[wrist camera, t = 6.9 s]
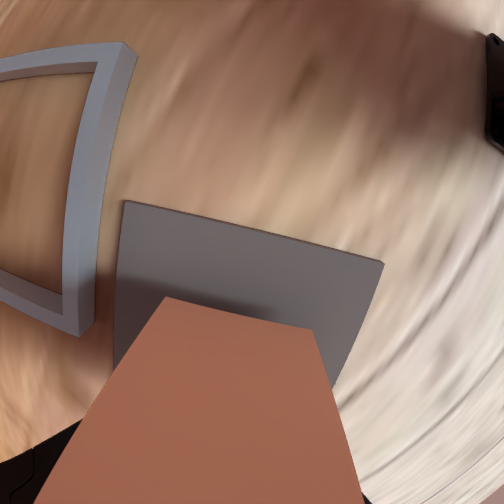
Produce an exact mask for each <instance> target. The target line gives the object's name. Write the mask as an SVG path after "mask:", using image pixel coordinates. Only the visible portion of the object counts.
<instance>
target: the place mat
mask: <svg viewBox="0 0 504 504" xmlns="http://www.w3.org/2000/svg"><path fill="white" fill-rule="evenodd" d="M384 265H385V264H384V263H383V262H382V261H379V260H375V259H372V258H368V257H364V256H360V255H357V254H353V253H349V252H345V251H341V250H337V249H334V248H330V247H326V246H322V245H318V244H314V243H310V242H306V241H302V240H298V239H294V238H290V237H286V236H282V235H278V234H274V233H270V232H266V231H262V230H258V229H254V228H249V227H245V226H241V225H237V224H233V223H228V222H224V221H220V220H216V219H211V218H207V217H203V216H198V215H194V214H190V213H185V212H181V211H176V210H172V209H167V208H163V207H158V206H154V205H149V204H145V203H140V202H135V201H131V200H128V201H125V206H124V212H123V219H122V226H121V234H120V243H119V252H118V262H117V273H116V286H115V303H114V336H113V357H114V370H115V369H116V367H117V366H118V364H119V363H120V361H121V360H122V358H123V357H124V355H125V354H126V352H127V351H128V350H129V348H130V347H131V345H132V344H133V342H134V341H135V339H136V338H137V336H138V335H139V334H140V332H141V331H142V329H143V328H144V326H145V325H146V324H147V322H148V321H149V319H150V318H151V316H152V315H153V314H154V312H155V311H156V309H157V308H158V307H159V305H160V304H161V302H162V301H163V300H164V298H165V297H170V298H173V299H177V300H181V301H185V302H189V303H193V304H197V305H201V306H205V307H209V308H213V309H217V310H221V311H225V312H229V313H234V314H238V315H242V316H247V317H251V318H256V319H261V320H265V321H270V322H275V323H280V324H285V325H290V326H295V327H300V328H305V329H310V330H312V331H313V334H314V337H315V340H316V343H317V346H318V349H319V352H320V355H321V358H322V361H323V364H324V367H325V370H326V374H327V377H328V380H329V383H330V386H331V389H332V388H333V386H334V384H335V382H336V380H337V378H338V376H339V374H340V372H341V370H342V368H343V366H344V364H345V362H346V360H347V357H348V355H349V353H350V351H351V349H352V346H353V344H354V342H355V340H356V337H357V335H358V333H359V330H360V328H361V326H362V323H363V321H364V318H365V316H366V313H367V311H368V308H369V306H370V303H371V301H372V298H373V295H374V293H375V290H376V287H377V285H378V282H379V279H380V276H381V273H382V271H383V268H384Z"/></svg>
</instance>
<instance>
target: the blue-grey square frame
mask: <svg viewBox="0 0 504 504" xmlns="http://www.w3.org/2000/svg"><path fill="white" fill-rule="evenodd" d="M137 58H138V55H137V54H136V53H135V52H134V51H133V50H132V49H131V48H130V47H129V46H128V45H126V44H125V43H124V42H106V43H91V44H80V45H71V46H63V47H55V48H49V49H43V50H37V51H32V52H27V53H22V54H18V55H14V56H9V57H5V58H2V59H0V81H4V80H10V79H17V78H24V77H32V76H41V75H52V74H65V73H89V72H95V73H94V76H93V79H92V82H91V85H90V89H89V92H88V95H87V99H86V103H85V106H84V110H83V114H82V118H81V122H80V126H79V130H78V135H77V140H76V144H75V149H74V155H73V160H72V166H71V172H70V178H69V185H68V193H67V201H66V210H65V221H64V235H63V256H62V295H60V294H57V293H55V292H52V291H50V290H47V289H45V288H42V287H40V286H38V285H35V284H33V283H31V282H28V281H26V280H24V279H21V278H19V277H17V276H15V275H12V274H10V273H8V272H6V271H4V270H2V269H0V301H2V302H3V303H5V304H7V305H9V306H11V307H13V308H15V309H17V310H19V311H21V312H23V313H25V314H27V315H29V316H31V317H33V318H35V319H37V320H39V321H41V322H43V323H45V324H48V325H50V326H52V327H54V328H57V329H59V330H61V331H63V332H66V333H68V334H70V335H73V336H75V337H78V338H80V337H81V336H82V335H83V334H84V333H85V332H86V331H87V330H88V328H89V327H90V326H91V325H92V324H93V323H94V322H95V276H96V259H97V246H98V236H99V226H100V218H101V210H102V203H103V196H104V189H105V183H106V177H107V172H108V166H109V161H110V156H111V151H112V147H113V142H114V138H115V133H116V129H117V125H118V121H119V117H120V113H121V109H122V106H123V102H124V99H125V95H126V92H127V89H128V85H129V82H130V79H131V76H132V73H133V70H134V67H135V64H136V61H137Z"/></svg>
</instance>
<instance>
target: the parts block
mask: <svg viewBox="0 0 504 504" xmlns="http://www.w3.org/2000/svg"><path fill="white" fill-rule="evenodd" d="M34 504H365V503H364V499H363V496H362V492H361V488H360V485H359V481H358V477H357V474H356V470H355V467H354V463H353V460H352V456H351V453H350V449H349V446H348V442H347V439H346V435H345V432H344V429H343V425H342V422H341V419H340V415H339V412H338V409H337V406H336V402H335V399H334V396H333V393H332V389H331V386H330V383H329V380H328V377H327V374H326V370H325V367H324V364H323V361H322V358H321V355H320V352H319V349H318V346H317V343H316V340H315V337H314V334H313V331H312V330H310V329H305V328H300V327H295V326H290V325H285V324H280V323H275V322H270V321H265V320H261V319H256V318H251V317H247V316H242V315H238V314H234V313H229V312H225V311H221V310H217V309H213V308H209V307H205V306H201V305H197V304H193V303H189V302H185V301H181V300H177V299H173V298H170V297H165V298H164V300H163V301H162V302H161V304H160V305H159V307H158V308H157V309H156V311H155V312H154V314H153V315H152V316H151V318H150V319H149V321H148V322H147V324H146V325H145V326H144V328H143V329H142V331H141V332H140V334H139V335H138V336H137V338H136V339H135V341H134V342H133V344H132V345H131V347H130V348H129V350H128V351H127V352H126V354H125V355H124V357H123V358H122V360H121V361H120V363H119V364H118V366H117V367H116V369H115V370H114V372H113V373H112V375H111V376H110V378H109V379H108V381H107V382H106V384H105V385H104V387H103V388H102V390H101V392H100V393H99V395H98V396H97V398H96V399H95V401H94V402H93V404H92V406H91V407H90V409H89V410H88V412H87V413H86V415H85V417H84V418H83V420H82V421H81V423H80V425H79V426H78V428H77V429H76V431H75V433H74V434H73V436H72V438H71V439H70V441H69V443H68V444H67V446H66V448H65V449H64V451H63V453H62V454H61V456H60V458H59V459H58V461H57V463H56V464H55V466H54V468H53V470H52V471H51V473H50V475H49V477H48V478H47V480H46V482H45V484H44V485H43V487H42V489H41V491H40V493H39V494H38V496H37V498H36V500H35V502H34Z"/></svg>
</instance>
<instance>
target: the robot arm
mask: <svg viewBox="0 0 504 504" xmlns="http://www.w3.org/2000/svg"><path fill="white" fill-rule="evenodd" d="M486 52H487V104H486V120H485V134H486V137H487V139H488V141H489V142H490V143H492V144H493V145H495V146H496V147H497V148H499V149H500V150H502V151H503V152H504V41H503V40H501V39H500V38H499V37H498V36H497V35H495V34H494V33H490V34H488V35H487V36H486ZM493 130H494V132H493ZM494 133H495V135H494ZM82 420H83V419H81V420H80V421H78V422H76V423H75V424H73V425H71V426H69V427H68V428H66V429H64V430H63V431H61V432H59V433H58V434H56V435H54V436H52V437H51V438H49V439H47V440H45V441H44V442H42V443H40V444H38V445H36V446H35V447H33V449H32V448H31V449H29V450H27V451H25V452H23V453H22V454H20V455H17V456H15V457H13V458H11V459H9V460H7V461H4V462H2V463H0V504H34V502H35V500H36V498H37V496H38V494H39V493H40V491H41V489H42V487H43V485H44V484H45V482H46V480H47V478H48V477H49V475H50V473H51V471H52V470H53V468H54V466H55V464H56V463H57V461H58V459H59V458H60V456H61V454H62V453H63V451H64V449H65V448H66V446H67V444H68V443H69V441H70V439H71V438H72V436H73V434H74V433H75V431H76V429H77V428H78V426H79V425H80V423H81V421H82ZM362 496H363V499H364V503H365V504H372V503H371V502H370V501H369V500H368V498H367V497H366V496H365V495H364V494H363V493H362Z"/></svg>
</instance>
